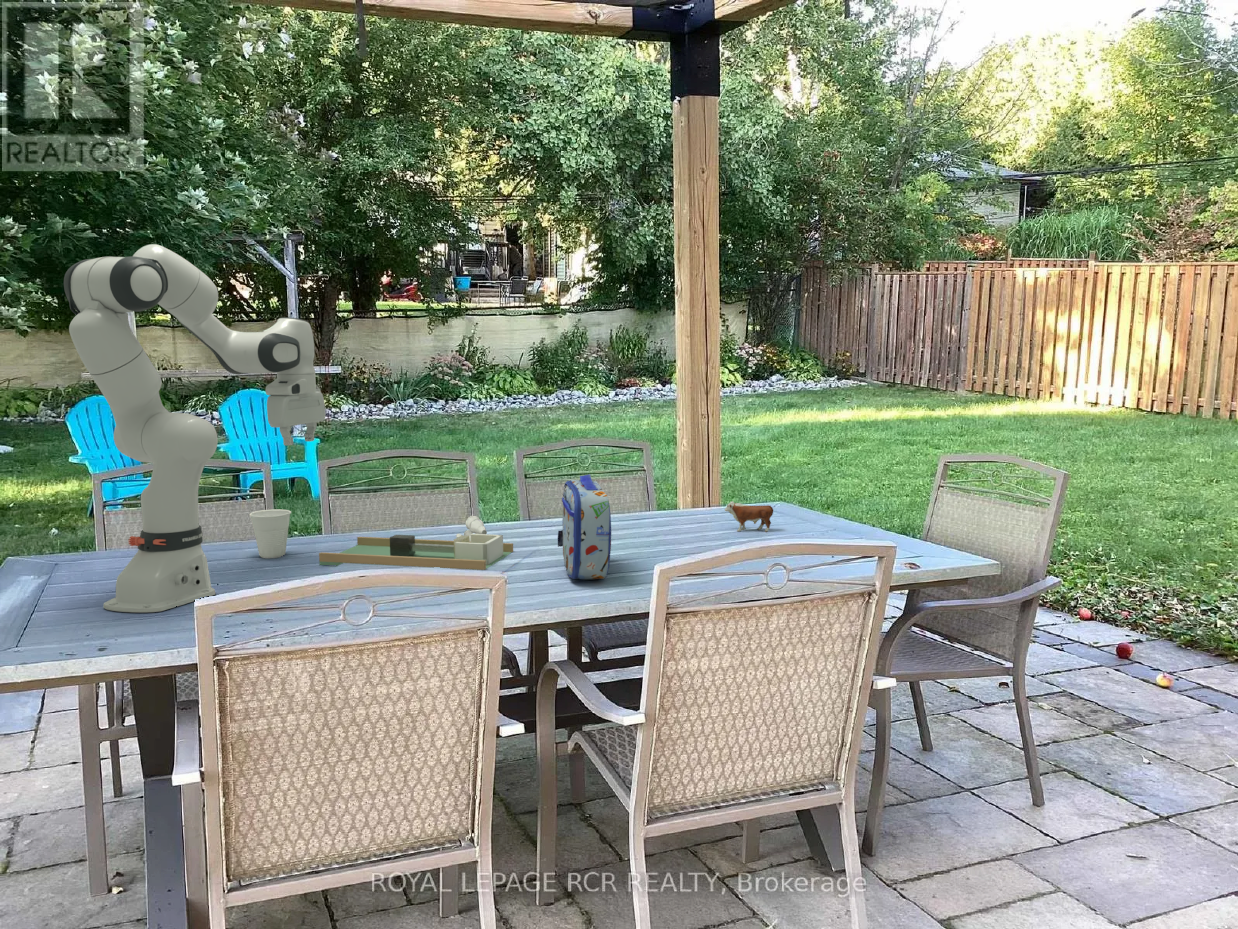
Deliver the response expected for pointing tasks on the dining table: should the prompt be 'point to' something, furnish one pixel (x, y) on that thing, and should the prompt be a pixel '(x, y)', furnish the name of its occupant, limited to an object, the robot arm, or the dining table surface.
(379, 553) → the pitch
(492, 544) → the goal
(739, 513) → the bull figurine
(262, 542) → the cup
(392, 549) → the kicker rod
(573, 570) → the lunch box
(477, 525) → the cream rounded piece
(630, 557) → the dining table surface
